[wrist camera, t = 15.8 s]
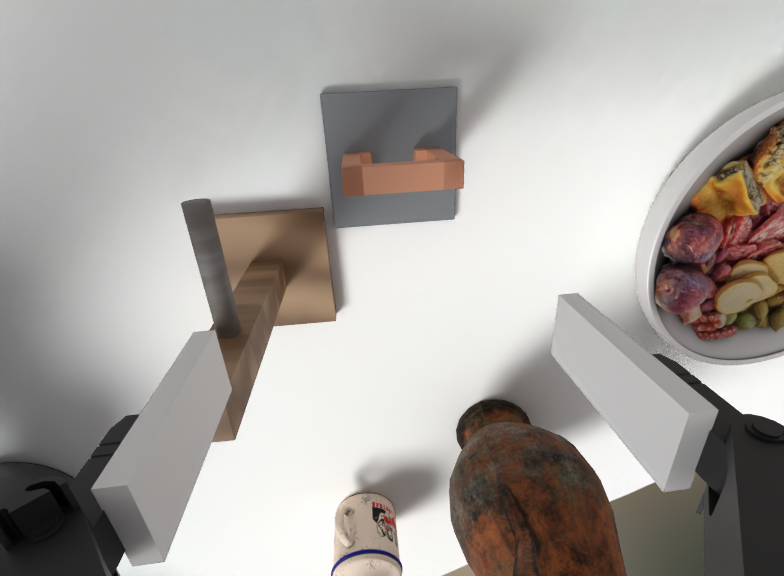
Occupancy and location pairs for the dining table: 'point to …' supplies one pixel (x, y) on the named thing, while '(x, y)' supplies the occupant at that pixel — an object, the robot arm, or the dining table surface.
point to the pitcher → (528, 500)
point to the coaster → (389, 149)
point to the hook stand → (258, 285)
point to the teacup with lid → (366, 537)
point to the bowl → (720, 244)
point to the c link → (402, 173)
